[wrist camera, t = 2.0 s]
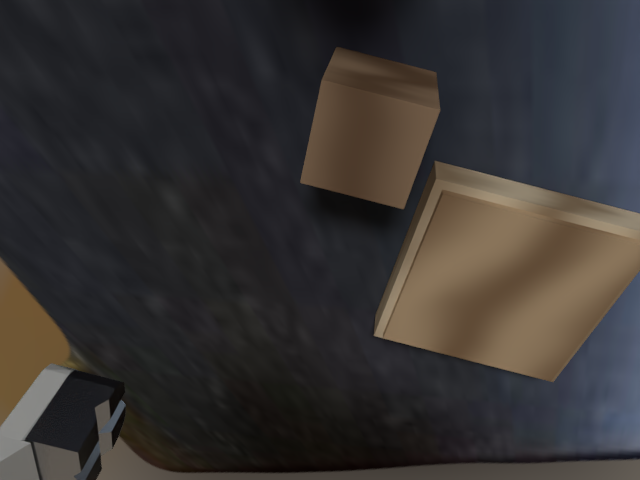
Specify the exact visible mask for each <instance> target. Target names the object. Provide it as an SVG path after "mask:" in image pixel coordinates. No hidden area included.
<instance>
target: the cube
mask: <svg viewBox="0 0 640 480" xmlns="http://www.w3.org/2000/svg"><path fill="white" fill-rule="evenodd" d="M439 112H440V104H439V95H438V85H437V76H436V72H433V71H429V70H425V69H421V68H418V67H414V66H410V65H406V64H402V63H398V62H394V61H390V60H387V59H383V58H379V57H375V56H371V55H367V54H363V53H360V52H356V51H352V50H348V49H344V48H340V47H336V49H335V51H334V54H333V56H332V58H331V60H330V62H329V65H328V67H327V69H326V71H325V74H324V76H323V78H322V81H321V86H320V91H319V96H318V100H317V105H316V110H315V115H314V119H313V124H312V129H311V134H310V138H309V143H308V148H307V153H306V157H305V162H304V167H303V172H302V176H301V181H300V183H303V184H307V185H311V186H315V187H319V188H323V189H327V190H331V191H334V192H338V193H342V194H346V195H350V196H354V197H358V198H361V199H365V200H369V201H373V202H377V203H381V204H385V205H389V206H392V207H396V208H400V209H404V207H405V204H406V202H407V199H408V196H409V193H410V191H411V188H412V185H413V183H414V180H415V177H416V174H417V172H418V169H419V166H420V164H421V161H422V158H423V155H424V153H425V150H426V147H427V145H428V142H429V139H430V136H431V134H432V131H433V128H434V126H435V123H436V120H437V117H438V115H439Z"/></svg>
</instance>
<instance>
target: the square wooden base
mask: <svg viewBox="0 0 640 480" xmlns="http://www.w3.org/2000/svg"><path fill="white" fill-rule="evenodd" d="M639 271H640V214H639V213H635V212H631V211H628V210H624V209H620V208H616V207H612V206H608V205H604V204H600V203H597V202H593V201H589V200H585V199H581V198H577V197H573V196H569V195H566V194H562V193H558V192H554V191H550V190H546V189H542V188H538V187H535V186H531V185H527V184H523V183H519V182H515V181H511V180H507V179H504V178H500V177H496V176H492V175H488V174H484V173H480V172H476V171H472V170H469V169H465V168H461V167H457V166H453V165H449V164H445V163H441V162H438V161H435V162H434V164H433V167H432V170H431V172H430V175H429V177H428V180H427V183H426V185H425V188H424V190H423V193H422V196H421V198H420V201H419V203H418V206H417V209H416V211H415V214H414V216H413V219H412V222H411V224H410V227H409V229H408V232H407V234H406V237H405V240H404V242H403V245H402V247H401V250H400V253H399V255H398V258H397V260H396V263H395V266H394V268H393V271H392V273H391V276H390V279H389V281H388V284H387V286H386V289H385V291H384V294H383V297H382V299H381V302H380V304H379V307H378V310H377V312H376V316H375V328H374V336H376V337H380V338H384V339H388V340H392V341H395V342H399V343H403V344H407V345H411V346H415V347H419V348H423V349H427V350H430V351H434V352H438V353H442V354H446V355H450V356H454V357H458V358H461V359H465V360H469V361H473V362H477V363H481V364H485V365H489V366H493V367H496V368H500V369H504V370H508V371H512V372H516V373H520V374H524V375H527V376H531V377H535V378H539V379H543V380H547V381H551V382H553V381H554V380H555V379H556V378H557V376H558V375H559V374H560V372H561V371H562V370H563V369H564V367H565V366H566V365H567V363H568V362H569V361H570V360H571V358H572V357H573V356H574V354H575V353H576V352H577V351H578V349H579V348H580V347H581V345H582V344H583V343H584V342H585V340H586V339H587V338H588V336H589V335H590V334H591V332H592V331H593V330H594V329H595V327H596V326H597V325H598V323H599V322H600V321H601V320H602V318H603V317H604V316H605V314H606V313H607V312H608V311H609V309H610V308H611V307H612V305H613V304H614V303H615V302H616V300H617V299H618V298H619V296H620V295H621V294H622V293H623V291H624V290H625V289H626V287H627V286H628V285H629V284H630V282H631V281H632V280H633V278H634V277H635V276H636V275H637V273H638V272H639Z"/></svg>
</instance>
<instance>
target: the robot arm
mask: <svg viewBox="0 0 640 480" xmlns="http://www.w3.org/2000/svg"><path fill="white" fill-rule="evenodd" d="M124 393H125V386H124V382H120V381H116V380H112V379H109V378H105V377H101V376H97V375H93V374H89V373H85V372H81V371H78V370H76V369H72V368H68V367H63V366H59V365H55V364H50V365H49V366H47V367H46V368H45V369H44V370H42V372H41V373H40V374H39V376H38V377H37V378H36V380H35V381H34V383H33V384H32V385H31V387H30V388H29V389H28V391H27V392H26V393H25V394H24V396H23V397H22V398H21V400H20V402H19V403H18V404H17V405H16V407H15V408H14V409H13V411H12V412H11V413H10V415H9V416H8V417H7V419H6V420H5V421H4V423H3V424H2V425H1V427H0V480H96V479H97V477H98V475H99V474H100V472H101V469H102V467H101V456H102V455H104V454H105V453H107V452H108V451H110V450H111V449H113V447H114V445H115V443H116V440H117V438H118V437H119V434H120V431H121V429H122V426H123V423H124V419H125V413H126V405H125V404H124V403H123V401H122V400H121V399H122V397H123V395H124Z"/></svg>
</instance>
